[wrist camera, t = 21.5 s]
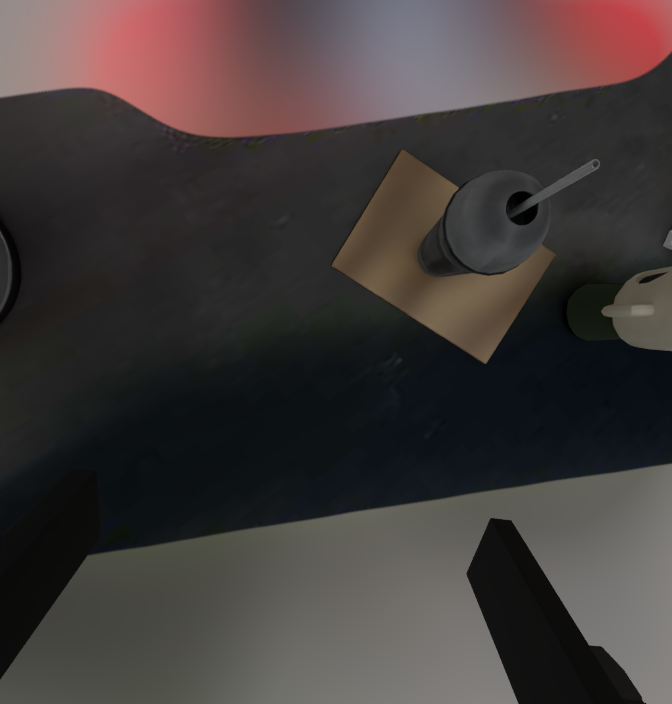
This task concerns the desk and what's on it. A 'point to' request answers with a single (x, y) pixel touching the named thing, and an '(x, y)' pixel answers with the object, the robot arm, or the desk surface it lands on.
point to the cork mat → (413, 283)
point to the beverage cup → (492, 224)
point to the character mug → (626, 310)
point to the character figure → (668, 241)
